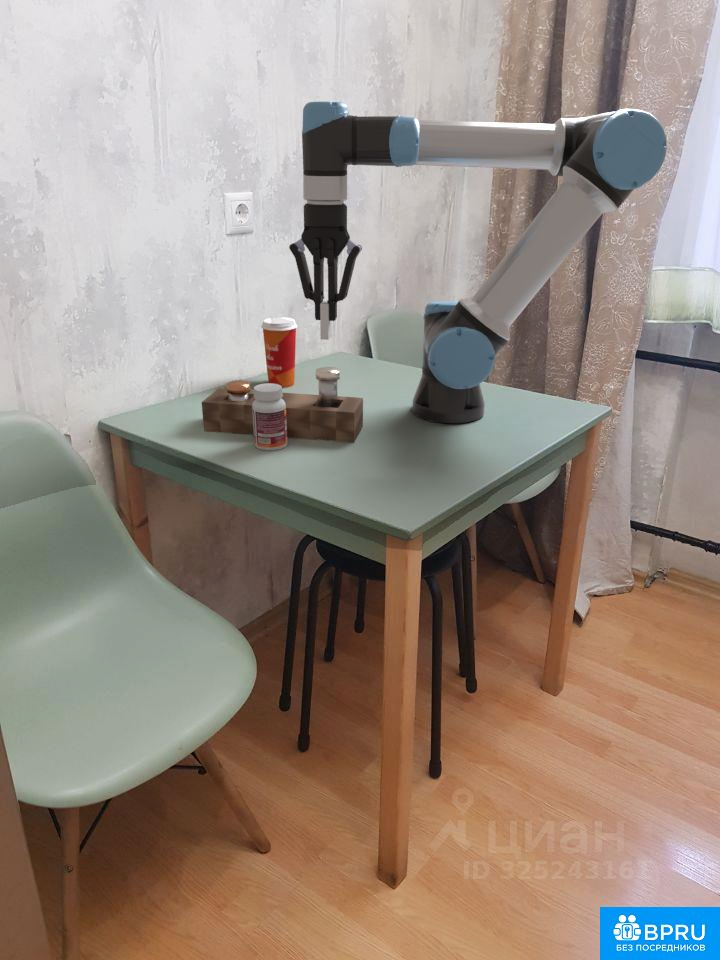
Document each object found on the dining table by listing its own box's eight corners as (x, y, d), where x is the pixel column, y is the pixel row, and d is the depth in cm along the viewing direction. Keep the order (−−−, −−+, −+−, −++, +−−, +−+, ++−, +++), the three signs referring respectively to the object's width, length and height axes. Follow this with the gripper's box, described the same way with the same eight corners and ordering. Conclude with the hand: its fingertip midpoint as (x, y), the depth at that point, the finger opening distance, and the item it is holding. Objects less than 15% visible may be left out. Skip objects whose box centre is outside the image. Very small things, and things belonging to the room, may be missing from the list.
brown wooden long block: (362, 426, 147) (363, 397, 145) (354, 442, 139) (354, 412, 137) (220, 416, 152) (218, 388, 150) (204, 431, 144) (201, 402, 142)
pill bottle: (293, 447, 137) (291, 388, 132) (263, 454, 134) (260, 394, 129) (277, 437, 142) (275, 380, 137) (248, 443, 139) (245, 385, 134)
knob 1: (255, 414, 148) (253, 381, 145) (247, 422, 144) (245, 387, 141) (233, 413, 149) (231, 379, 146) (225, 420, 145) (222, 386, 142)
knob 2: (342, 402, 144) (342, 367, 141) (337, 410, 140) (337, 374, 137) (319, 401, 145) (318, 366, 142) (313, 408, 140) (313, 372, 138)
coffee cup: (259, 381, 175) (256, 318, 169) (292, 377, 178) (290, 315, 172) (270, 391, 168) (267, 325, 162) (304, 387, 171) (302, 322, 165)
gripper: (366, 201, 129) (364, 335, 139) (294, 200, 131) (297, 331, 141) (358, 204, 123) (356, 344, 132) (282, 202, 125) (286, 340, 134)
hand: (326, 337), depth 137 cm, fingers closed
